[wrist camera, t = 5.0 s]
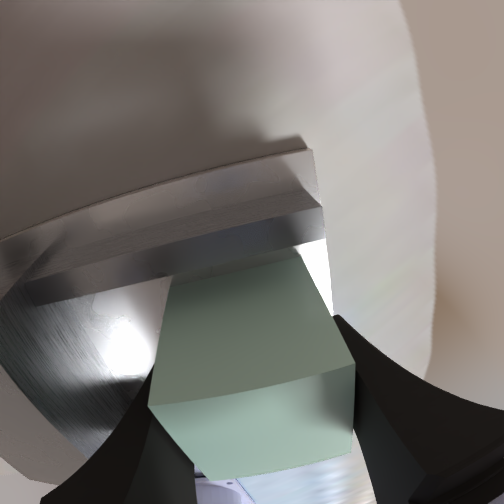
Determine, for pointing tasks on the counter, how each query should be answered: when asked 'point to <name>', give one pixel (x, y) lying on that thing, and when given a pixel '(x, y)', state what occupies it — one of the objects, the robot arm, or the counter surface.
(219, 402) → the pale mint cube
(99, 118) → the counter surface
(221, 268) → the motor mount
